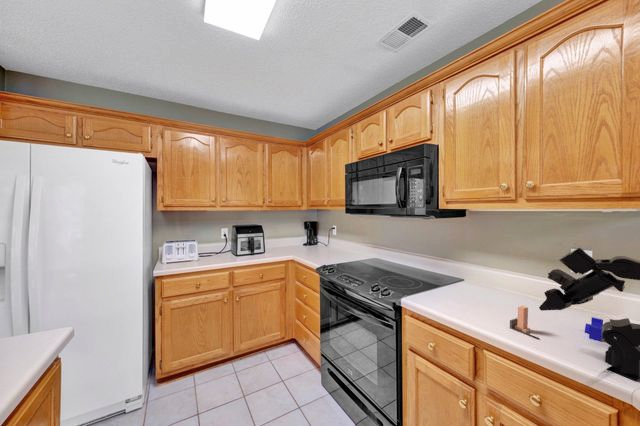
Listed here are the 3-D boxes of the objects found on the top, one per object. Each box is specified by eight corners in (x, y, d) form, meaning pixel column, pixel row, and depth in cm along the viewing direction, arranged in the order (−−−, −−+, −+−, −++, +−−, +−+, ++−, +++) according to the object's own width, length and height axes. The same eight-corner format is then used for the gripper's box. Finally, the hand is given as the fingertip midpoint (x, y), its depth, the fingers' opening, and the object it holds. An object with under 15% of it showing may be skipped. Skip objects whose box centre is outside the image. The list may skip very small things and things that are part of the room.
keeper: (530, 331, 99) (531, 308, 98) (526, 333, 97) (526, 309, 97) (518, 327, 102) (519, 304, 102) (514, 328, 101) (515, 305, 101)
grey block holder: (547, 341, 94) (547, 329, 94) (539, 344, 92) (539, 331, 92) (516, 329, 103) (517, 318, 103) (509, 331, 101) (509, 320, 101)
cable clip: (585, 330, 103) (586, 315, 103) (602, 335, 100) (603, 319, 99) (582, 340, 95) (583, 324, 95) (600, 346, 92) (601, 329, 92)
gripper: (581, 261, 91) (543, 283, 101) (552, 265, 83) (514, 289, 94) (613, 290, 84) (568, 311, 94) (584, 298, 76) (539, 320, 87)
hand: (547, 307), depth 93 cm, fingers open, 9 cm apart
